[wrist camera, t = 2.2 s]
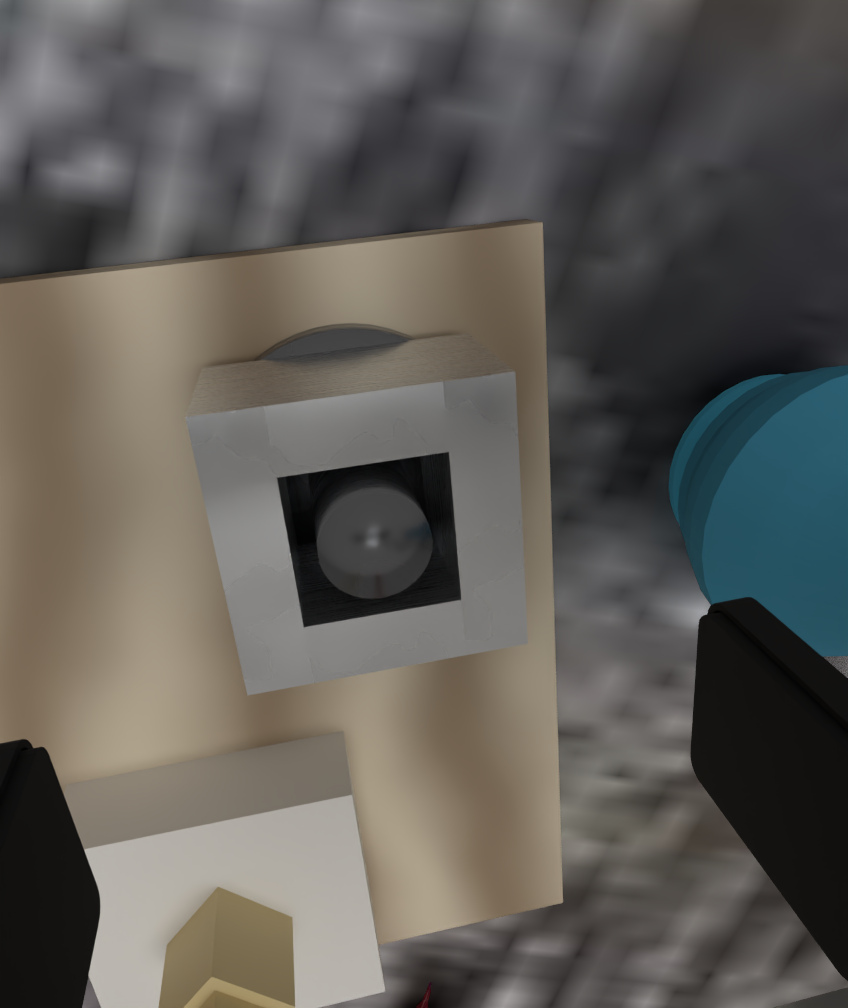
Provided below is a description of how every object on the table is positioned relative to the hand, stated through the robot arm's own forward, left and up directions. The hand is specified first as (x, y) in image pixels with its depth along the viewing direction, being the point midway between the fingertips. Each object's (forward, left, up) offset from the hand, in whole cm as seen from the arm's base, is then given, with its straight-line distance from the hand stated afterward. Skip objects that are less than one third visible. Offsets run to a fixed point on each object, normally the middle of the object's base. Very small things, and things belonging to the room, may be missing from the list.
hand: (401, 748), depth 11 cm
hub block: (+6, +14, -13) cm, 20 cm away
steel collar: (0, 0, -12) cm, 12 cm away
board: (+3, +7, -14) cm, 16 cm away
